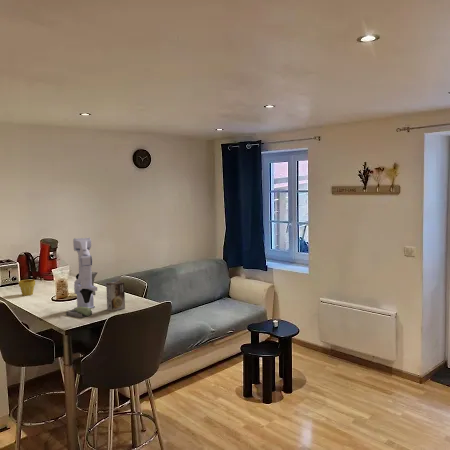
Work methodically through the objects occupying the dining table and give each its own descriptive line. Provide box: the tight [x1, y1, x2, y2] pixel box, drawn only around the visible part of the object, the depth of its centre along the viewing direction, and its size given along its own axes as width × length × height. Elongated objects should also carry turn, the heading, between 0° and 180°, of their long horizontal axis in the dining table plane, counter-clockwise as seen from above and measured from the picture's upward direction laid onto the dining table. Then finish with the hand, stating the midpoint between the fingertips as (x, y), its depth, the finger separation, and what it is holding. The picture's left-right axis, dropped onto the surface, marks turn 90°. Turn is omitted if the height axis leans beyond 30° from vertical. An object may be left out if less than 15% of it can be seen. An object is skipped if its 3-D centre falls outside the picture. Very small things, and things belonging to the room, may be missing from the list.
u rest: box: [66, 308, 93, 319], centre depth 251 cm, size 8×12×2 cm, turn 60°
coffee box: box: [105, 280, 126, 312], centre depth 263 cm, size 9×6×16 cm
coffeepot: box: [75, 271, 98, 296], centre depth 300 cm, size 15×9×18 cm, turn 129°
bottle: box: [74, 306, 92, 317], centre depth 250 cm, size 4×4×10 cm
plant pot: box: [18, 279, 36, 297], centre depth 302 cm, size 10×10×10 cm
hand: (86, 302), depth 237 cm, fingers closed
